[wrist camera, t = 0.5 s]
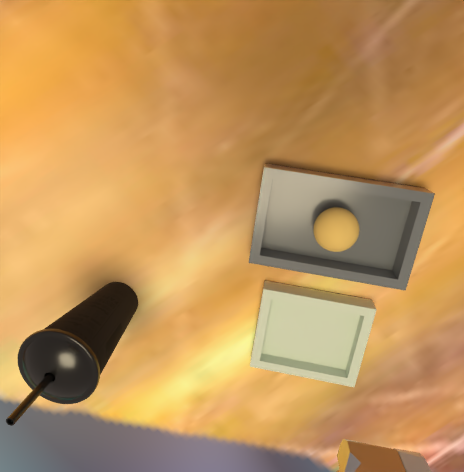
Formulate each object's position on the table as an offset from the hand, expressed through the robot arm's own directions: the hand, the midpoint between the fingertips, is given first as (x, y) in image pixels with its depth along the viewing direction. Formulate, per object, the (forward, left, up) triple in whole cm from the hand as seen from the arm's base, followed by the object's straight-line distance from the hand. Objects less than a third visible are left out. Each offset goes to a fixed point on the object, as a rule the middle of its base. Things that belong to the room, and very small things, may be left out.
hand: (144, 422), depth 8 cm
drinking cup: (+18, -15, -35) cm, 42 cm away
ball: (+4, +8, -34) cm, 36 cm away
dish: (+4, +9, -35) cm, 36 cm away
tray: (+17, +8, -35) cm, 40 cm away
